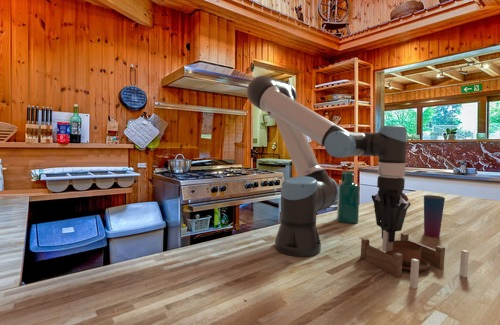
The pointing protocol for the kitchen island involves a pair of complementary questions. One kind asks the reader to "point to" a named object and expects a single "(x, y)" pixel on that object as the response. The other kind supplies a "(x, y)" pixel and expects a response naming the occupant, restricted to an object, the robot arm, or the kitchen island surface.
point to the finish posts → (416, 268)
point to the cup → (433, 215)
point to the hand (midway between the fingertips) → (387, 250)
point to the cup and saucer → (409, 254)
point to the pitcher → (348, 199)
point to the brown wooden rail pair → (399, 256)
